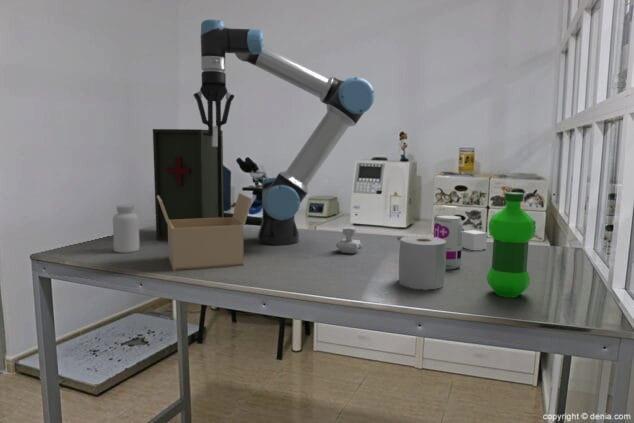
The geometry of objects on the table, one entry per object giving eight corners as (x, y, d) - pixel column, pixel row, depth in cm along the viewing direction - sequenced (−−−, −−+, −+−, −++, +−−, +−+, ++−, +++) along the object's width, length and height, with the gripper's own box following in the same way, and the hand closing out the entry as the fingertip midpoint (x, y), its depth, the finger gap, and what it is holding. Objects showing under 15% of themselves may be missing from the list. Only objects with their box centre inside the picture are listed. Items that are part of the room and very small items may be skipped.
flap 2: (232, 217, 161) (234, 217, 161) (242, 224, 147) (244, 225, 147) (239, 192, 160) (240, 193, 161) (250, 198, 147) (251, 198, 147)
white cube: (473, 246, 179) (474, 230, 178) (486, 249, 174) (487, 232, 173) (460, 248, 176) (461, 231, 176) (473, 251, 171) (474, 234, 170)
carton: (232, 253, 163) (232, 217, 161) (243, 265, 148) (243, 225, 147) (168, 258, 156) (167, 219, 154) (173, 270, 141) (172, 228, 139)
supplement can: (445, 271, 145) (447, 219, 142) (426, 264, 152) (428, 215, 150) (466, 268, 148) (469, 218, 146) (447, 261, 156) (449, 214, 153)
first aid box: (224, 233, 197) (222, 130, 191) (203, 242, 179) (200, 129, 174) (181, 231, 201) (178, 130, 196) (156, 239, 183) (152, 129, 178)
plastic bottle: (476, 289, 127) (482, 191, 124) (513, 287, 129) (520, 190, 126) (499, 301, 117) (506, 195, 114) (539, 299, 120) (547, 195, 116)
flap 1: (158, 195, 152) (156, 195, 152) (162, 201, 138) (160, 201, 138) (167, 219, 154) (165, 220, 154) (172, 228, 140) (169, 228, 140)
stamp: (364, 251, 169) (364, 226, 168) (360, 255, 163) (361, 230, 161) (338, 249, 171) (338, 225, 170) (333, 253, 165) (334, 228, 164)
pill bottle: (131, 253, 161) (129, 207, 159) (108, 252, 162) (106, 206, 160) (144, 248, 169) (142, 204, 166) (123, 247, 170) (121, 203, 168)
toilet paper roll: (396, 276, 138) (398, 235, 137) (441, 278, 137) (443, 236, 136) (399, 289, 127) (401, 244, 125) (447, 291, 125) (450, 245, 124)
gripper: (194, 69, 154) (195, 146, 157) (236, 71, 159) (237, 146, 162) (191, 71, 161) (192, 146, 164) (231, 74, 166) (232, 146, 169)
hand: (214, 146), depth 163 cm, fingers closed
